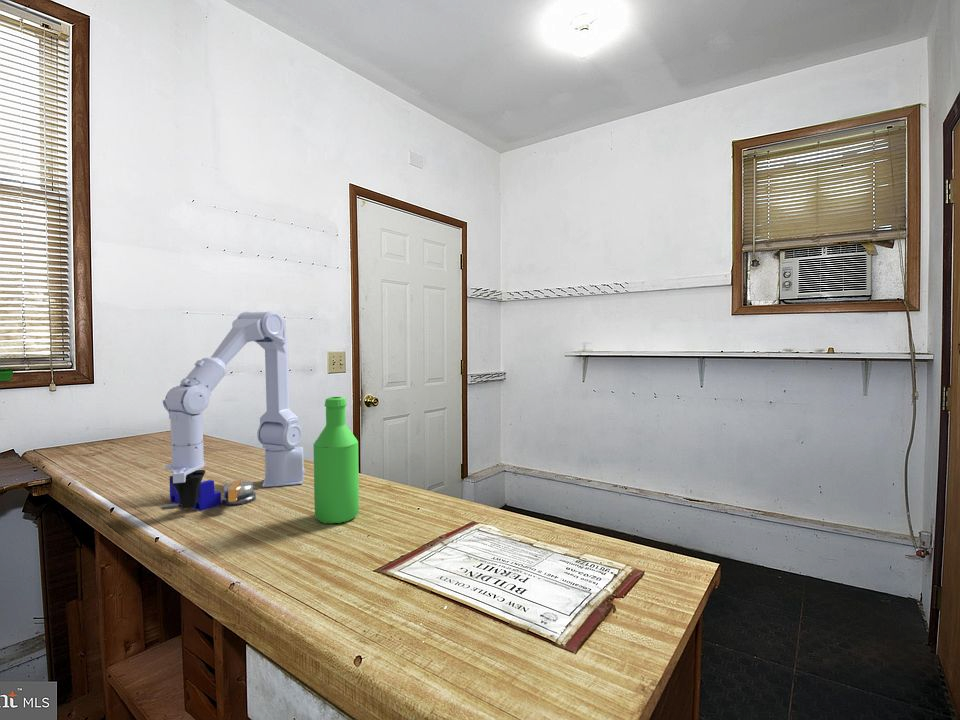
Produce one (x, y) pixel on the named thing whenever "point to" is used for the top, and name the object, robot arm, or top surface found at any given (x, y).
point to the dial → (238, 490)
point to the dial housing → (239, 500)
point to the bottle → (336, 467)
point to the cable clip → (200, 495)
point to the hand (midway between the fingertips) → (189, 507)
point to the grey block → (170, 505)
